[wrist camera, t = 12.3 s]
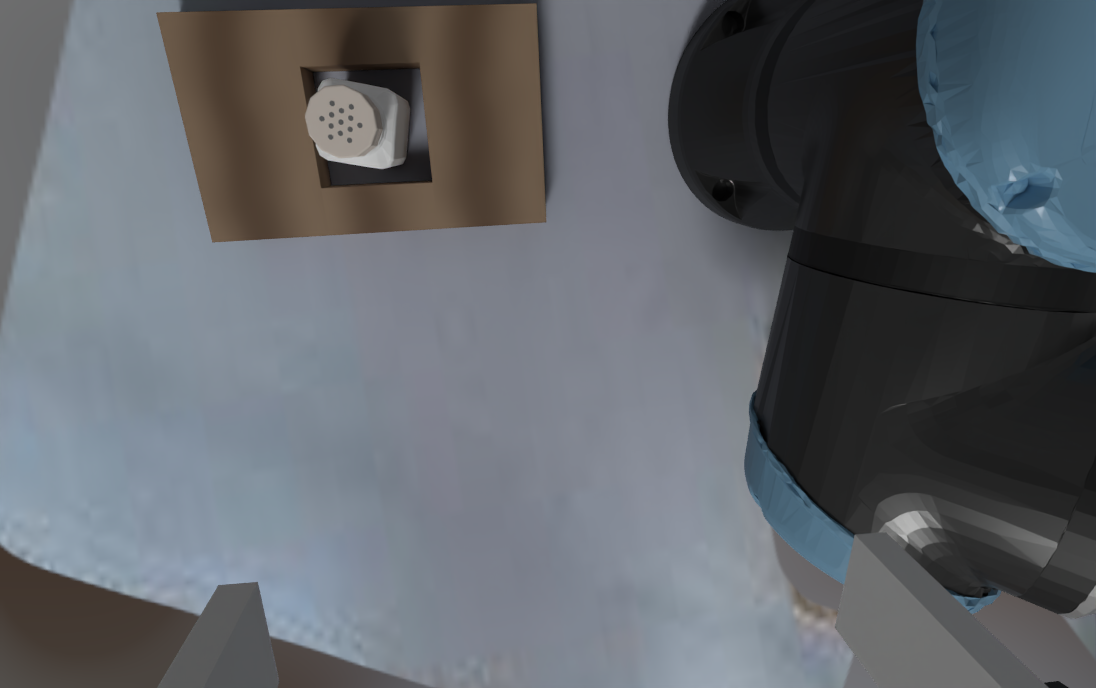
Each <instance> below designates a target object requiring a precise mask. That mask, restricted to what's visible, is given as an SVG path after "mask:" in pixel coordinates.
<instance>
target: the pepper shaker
mask: <svg viewBox="0 0 1096 688" xmlns="http://www.w3.org/2000/svg"><path fill="white" fill-rule="evenodd" d="M305 119H306V124H307V128H308V133H309V136H310V137H311V138H312V139H313V140H314V142H315V143H316V148H317V150H318V152H319V155H320V156H322V157H323V158H325V159H326V160H329V161H335V162H340V163H346V164H352V165H358V166H364V167H371V168H378V169H385V168H389V167H393V166H397V165H401V164H403V163H404V161H405V159H406V156H407V144H408V132H409V120H410V106H409V103H408V101H407V100H405V99H403V98H402V97H400V96H399V95H397V94H396V93H394V92H392V91H391V90H389V89H387V88H382V87H377V86H372V85H367V84H362V83H357V82H351V81H346V80H340V79H334V78H329V79H325V80H322V82H321V84H320V86H319V87H318V92H317V93H315V94H314V95H313V96H312V97H310V100H309V103H308V107H307V110H306V113H305Z"/></svg>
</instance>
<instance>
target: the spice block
mask: <svg viewBox="0 0 1096 688" xmlns="http://www.w3.org/2000/svg"><path fill="white" fill-rule="evenodd" d="M156 14H157V18H158V22H159V26H160V30H161V34H162V38H163V42H164V46H165V50H166V54H167V58H168V63H169V67H170V71H171V75H172V79H173V83H174V87H175V91H176V95H177V99H178V103H179V107H180V112H181V116H182V120H183V124H184V128H185V132H186V136H187V140H188V144H189V148H190V152H191V156H192V161H193V165H194V169H195V173H196V177H197V181H198V185H199V189H200V193H201V197H202V201H203V205H204V210H205V214H206V218H207V222H208V226H209V230H210V234H211V238H212V242H226V241H243V240H260V239H276V238H293V237H309V236H326V235H343V234H359V233H376V232H392V231H409V230H426V229H442V228H459V227H475V226H492V225H508V224H525V223H542V222H546V205H545V183H544V160H543V138H542V116H541V93H540V71H539V49H538V26H537V4H536V3H535V4H493V5H451V6H410V7H368V8H326V9H285V10H243V11H201V12H160V13H156ZM415 68H420V72H421V82H422V91H423V100H424V109H425V118H426V127H427V136H428V145H429V155H430V164H431V173H432V180H429V181H410V182H391V183H372V184H353V185H334V186H331V180H330V174H329V168H328V162H327V160H326V159H325V158H323V157H322V156H320V155H319V152H318V150H317V148H316V143H315V142H314V140H313V139H312V138H311V137H310V136H309V133H308V128H307V124H306V119H305V113H306V110H307V107H308V103H309V100H310V97H312V96H313V95H314V94H315V93H316V90H315V84H314V78H313V72H326V71H356V70H385V69H415Z"/></svg>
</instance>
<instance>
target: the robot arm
mask: <svg viewBox="0 0 1096 688" xmlns="http://www.w3.org/2000/svg"><path fill="white" fill-rule="evenodd" d="M668 126H669V137H670V143H671V148H672V152H673V156H674V159H675V162H676V164H677V167H678V169H679V171H680V174H681V176H682V177H683V179H684V181H685V183H686V184H687V186H688V187H689V189H690V190H691V191H692V193H693V194H694V195H695V196H696V197H697V198H698V199H699V200H700V201H701V202H702V203H703V204H704V205H705V206H706V207H707V208H709V209H710V210H711V211H713V212H714V213H716V214H718V215H719V216H721V217H723V218H725V219H728V220H730V221H732V222H735V223H739V224H742V225H745V226H749V227H752V228H757V229H763V230H793V229H794V231H793V235H792V240H791V244H790V249H789V253H788V256H787V260H786V265H785V269H784V274H783V278H782V282H781V287H780V291H779V296H778V300H777V304H776V309H775V313H774V318H773V322H772V326H771V331H770V335H769V340H768V344H767V348H766V353H765V357H764V362H763V366H762V370H761V375H760V379H759V384H758V388H757V390H756V391H755V392H754V393H753V394H752V397H751V400H750V405H749V416H750V428H749V434H748V441H747V447H746V453H745V460H744V469H745V477H746V481H747V485H748V488H749V491H750V493H751V495H752V497H753V498H754V500H755V502H756V503H757V504H758V505H759V506H760V507H761V509H762V512H763V515H764V517H765V519H766V520H767V521H768V523H769V524H770V525H771V526H772V528H773V529H774V530H775V531H776V532H777V533H778V534H779V535H780V536H781V537H782V538H783V539H784V540H785V541H786V542H787V543H788V544H789V545H790V546H791V547H792V548H793V549H794V550H795V551H796V552H798V553H799V554H800V555H801V556H803V557H804V558H805V559H806V560H808V561H809V562H810V563H812V564H813V565H814V566H816V567H817V568H819V569H820V570H822V571H823V572H825V573H826V574H828V575H829V576H831V577H832V578H834V579H836V580H837V581H839V582H841V583H842V584H844V587H843V592H842V596H841V601H840V606H839V610H838V615H837V620H836V624H835V628H836V630H837V631H838V633H839V634H840V635H841V637H842V638H843V639H844V641H845V642H846V643H847V645H848V646H849V648H850V649H851V650H852V652H853V653H854V654H855V656H856V657H857V658H858V660H859V661H860V662H861V664H862V665H863V666H864V668H865V669H866V671H867V672H868V673H869V675H870V676H871V677H872V679H873V680H874V682H875V683H876V684H877V686H878V687H879V688H1068V687H1067V686H1065V685H1064V684H1062V683H1061V682H1059V681H1056V682H1048V683H1043V682H1042V681H1041V680H1040V679H1039V678H1038V677H1037V676H1036V675H1035V674H1034V673H1033V672H1032V671H1031V670H1030V669H1029V668H1028V667H1026V665H1024V664H1023V663H1022V662H1021V661H1020V660H1019V659H1018V658H1017V657H1016V656H1015V655H1014V654H1013V653H1012V652H1011V651H1010V650H1009V649H1007V647H1006V646H1004V645H1003V644H1002V643H1001V642H1000V641H999V640H998V639H997V638H996V637H995V636H994V635H993V634H992V633H991V632H990V631H989V630H988V629H987V628H986V627H985V626H984V625H982V624H981V623H980V622H979V621H978V620H977V619H976V618H975V617H974V616H973V615H972V614H973V613H975V612H978V611H979V610H980V609H982V608H983V607H984V606H985V605H989V604H992V603H993V601H994V600H995V599H996V598H997V597H998V596H1000V593H1001V591H1003V592H1006V593H1008V594H1010V595H1013V596H1016V597H1018V598H1021V599H1024V600H1026V601H1028V602H1030V603H1033V604H1035V605H1038V606H1040V607H1043V608H1045V609H1048V610H1050V611H1052V612H1054V613H1057V614H1059V615H1062V616H1064V617H1067V618H1070V619H1076V618H1080V617H1084V616H1088V615H1092V614H1096V0H727V1H726V2H725V3H723V4H722V5H721V6H720V7H719V8H718V9H716V10H715V11H714V12H713V13H712V14H711V15H710V16H709V17H708V19H707V20H706V21H705V22H704V23H703V24H702V26H701V27H700V28H699V29H698V31H697V32H696V34H695V35H694V37H693V38H692V40H691V41H690V43H689V45H688V46H687V48H686V50H685V52H684V54H683V56H682V58H681V61H680V63H679V66H678V68H677V71H676V74H675V77H674V81H673V85H672V89H671V94H670V101H669V112H668ZM278 684H279V678H278V674H277V669H276V664H275V659H274V655H273V650H272V646H271V641H270V636H269V632H268V627H267V622H266V618H265V613H264V609H263V604H262V599H261V595H260V590H259V585H258V582H253V583H241V584H228V585H218V587H217V589H216V590H215V592H214V594H213V595H212V597H211V599H210V600H209V602H208V604H207V605H206V607H205V609H204V610H203V612H202V614H201V615H200V617H199V619H198V620H197V622H196V624H195V625H194V627H193V629H192V631H191V632H190V634H189V635H188V637H187V639H186V641H185V642H184V644H183V646H182V647H181V649H180V651H179V652H178V654H177V656H176V657H175V659H174V661H173V662H172V664H171V666H170V667H169V669H168V671H167V672H166V674H165V676H164V677H163V679H162V681H161V682H160V684H159V686H158V687H157V688H277V687H278Z"/></svg>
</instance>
